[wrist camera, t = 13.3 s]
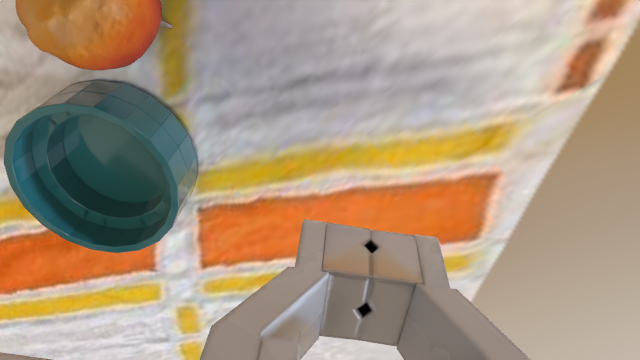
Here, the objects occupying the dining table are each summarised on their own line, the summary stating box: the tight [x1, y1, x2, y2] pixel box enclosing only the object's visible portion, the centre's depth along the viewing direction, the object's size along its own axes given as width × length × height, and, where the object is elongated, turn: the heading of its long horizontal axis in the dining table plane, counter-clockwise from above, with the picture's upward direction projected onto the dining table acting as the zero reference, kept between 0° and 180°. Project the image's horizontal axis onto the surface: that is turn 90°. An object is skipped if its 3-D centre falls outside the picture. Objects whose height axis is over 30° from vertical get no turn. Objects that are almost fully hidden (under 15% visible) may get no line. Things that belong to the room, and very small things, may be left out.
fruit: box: [16, 0, 172, 70], centre depth 28 cm, size 8×8×8 cm
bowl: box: [4, 80, 197, 253], centre depth 35 cm, size 12×12×5 cm
